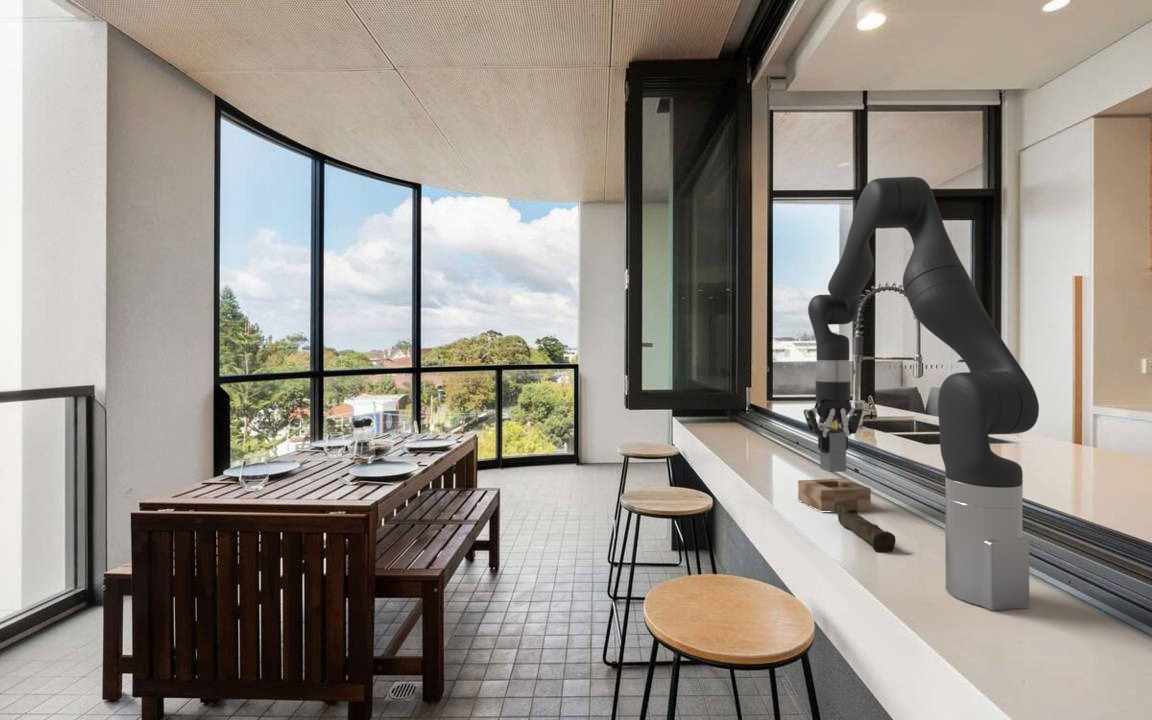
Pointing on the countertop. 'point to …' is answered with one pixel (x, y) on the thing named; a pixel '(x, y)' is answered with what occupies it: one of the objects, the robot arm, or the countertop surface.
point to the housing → (834, 494)
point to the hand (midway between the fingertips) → (833, 451)
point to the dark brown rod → (865, 529)
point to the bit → (834, 450)
